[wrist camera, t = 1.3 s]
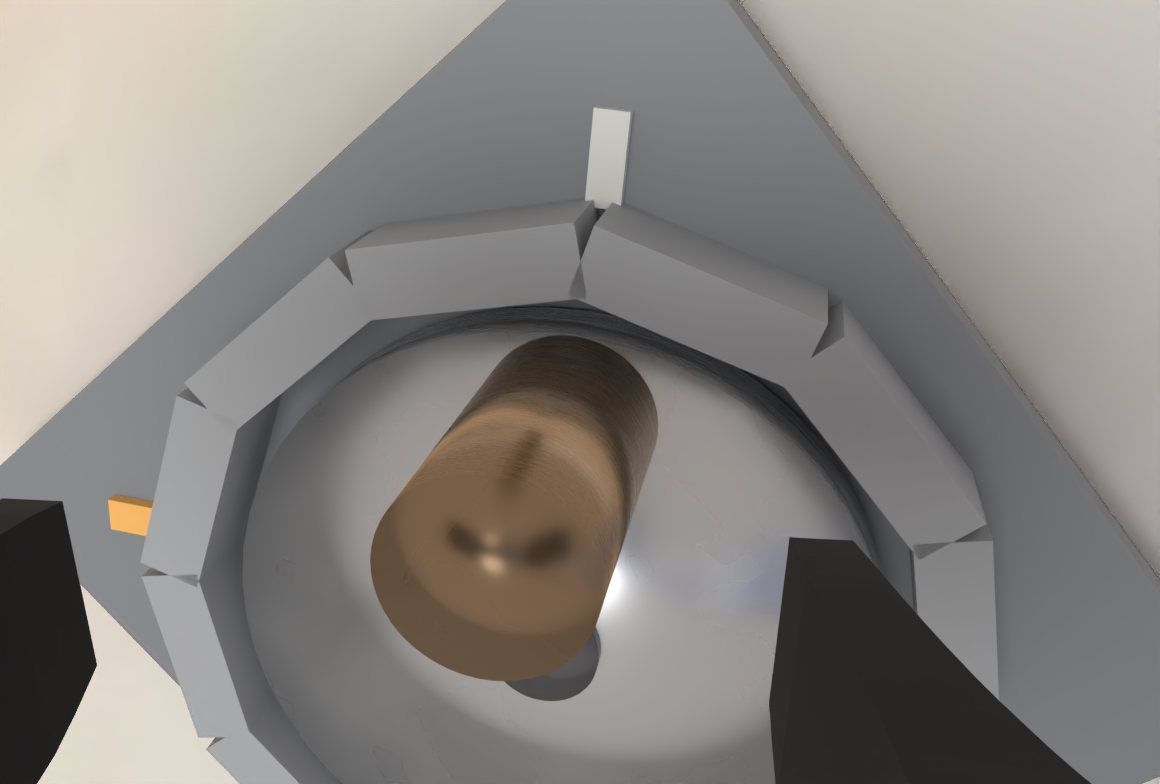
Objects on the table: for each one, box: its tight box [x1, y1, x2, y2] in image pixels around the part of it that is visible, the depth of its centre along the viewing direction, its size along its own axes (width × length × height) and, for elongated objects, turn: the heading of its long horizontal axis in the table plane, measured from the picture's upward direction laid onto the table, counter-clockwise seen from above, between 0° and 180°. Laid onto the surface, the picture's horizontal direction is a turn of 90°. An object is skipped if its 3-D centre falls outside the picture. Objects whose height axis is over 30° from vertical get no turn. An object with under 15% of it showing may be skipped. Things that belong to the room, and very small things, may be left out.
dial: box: [242, 307, 881, 784], centre depth 18 cm, size 12×12×6 cm
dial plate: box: [0, 0, 1160, 784], centre depth 21 cm, size 18×18×3 cm
